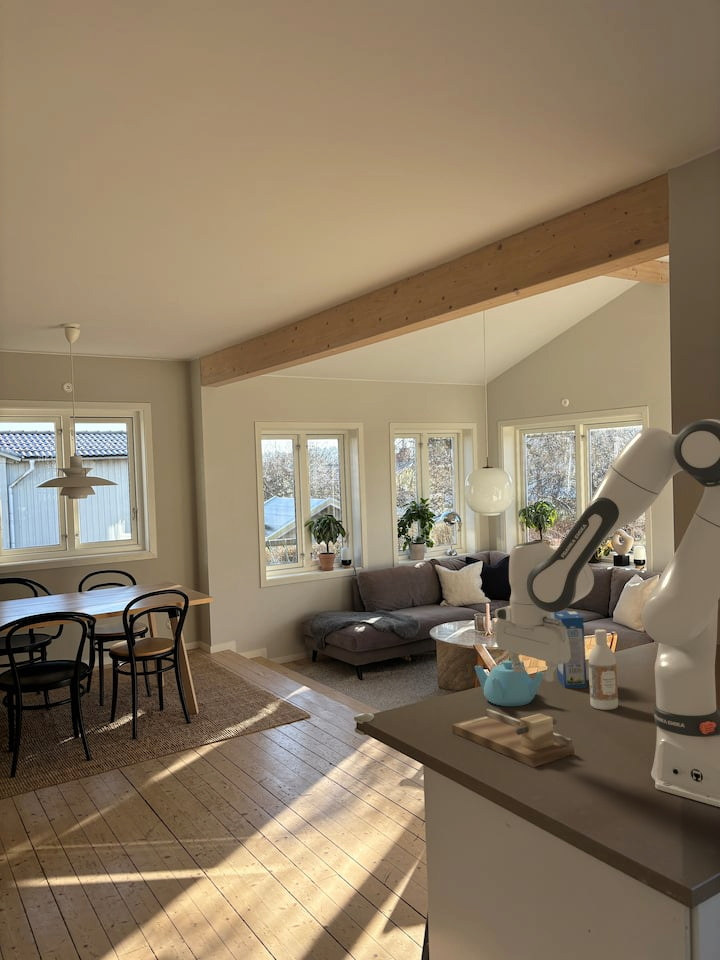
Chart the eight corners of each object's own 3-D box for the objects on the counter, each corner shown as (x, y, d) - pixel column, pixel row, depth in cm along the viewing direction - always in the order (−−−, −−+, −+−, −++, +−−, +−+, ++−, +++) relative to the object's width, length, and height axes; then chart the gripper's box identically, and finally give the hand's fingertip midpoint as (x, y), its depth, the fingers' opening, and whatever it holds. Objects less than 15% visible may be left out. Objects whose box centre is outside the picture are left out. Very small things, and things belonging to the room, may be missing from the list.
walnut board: (574, 754, 167) (573, 738, 167) (533, 767, 161) (532, 750, 161) (490, 722, 192) (490, 708, 192) (452, 732, 185) (452, 718, 185)
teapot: (548, 705, 203) (546, 665, 203) (494, 711, 200) (492, 670, 200) (524, 690, 218) (522, 652, 218) (474, 695, 215) (473, 657, 215)
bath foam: (597, 711, 196) (593, 634, 196) (586, 703, 203) (582, 628, 202) (623, 709, 197) (619, 631, 196) (610, 701, 203) (607, 626, 203)
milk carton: (557, 678, 228) (554, 612, 228) (578, 677, 228) (574, 611, 228) (565, 688, 218) (561, 618, 218) (586, 687, 218) (583, 617, 218)
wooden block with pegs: (562, 742, 170) (560, 715, 170) (525, 753, 164) (523, 725, 164) (549, 737, 173) (547, 711, 173) (512, 748, 168) (511, 721, 168)
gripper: (576, 619, 161) (578, 684, 161) (510, 606, 179) (512, 664, 179) (554, 623, 158) (556, 689, 158) (489, 609, 176) (492, 669, 176)
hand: (532, 676), depth 169 cm, fingers open, 8 cm apart
